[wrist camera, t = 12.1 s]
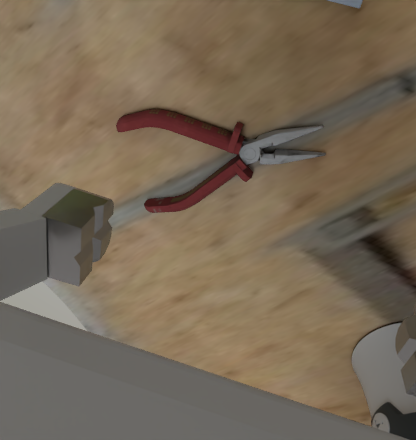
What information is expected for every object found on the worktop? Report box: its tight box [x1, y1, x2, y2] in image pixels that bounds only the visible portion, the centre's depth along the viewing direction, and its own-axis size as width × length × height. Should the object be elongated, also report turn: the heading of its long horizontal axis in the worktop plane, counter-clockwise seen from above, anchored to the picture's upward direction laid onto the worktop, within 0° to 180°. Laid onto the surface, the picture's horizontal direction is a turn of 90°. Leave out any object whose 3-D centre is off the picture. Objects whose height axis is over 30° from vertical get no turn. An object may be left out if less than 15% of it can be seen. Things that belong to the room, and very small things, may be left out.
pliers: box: [116, 109, 326, 213], centre depth 39 cm, size 12×20×3 cm, turn 104°
